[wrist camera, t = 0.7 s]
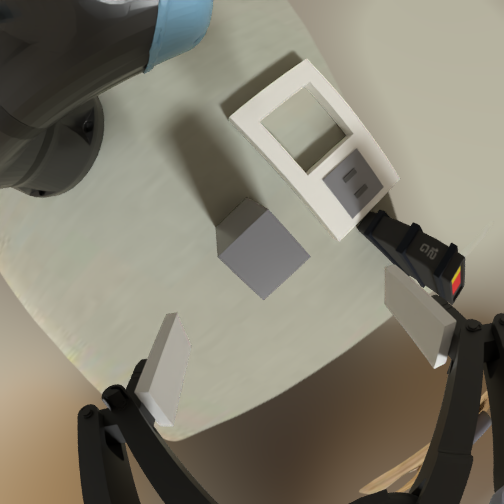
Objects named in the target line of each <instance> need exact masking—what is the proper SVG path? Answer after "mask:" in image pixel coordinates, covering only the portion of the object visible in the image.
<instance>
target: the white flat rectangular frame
mask: <svg viewBox="0 0 504 504" xmlns="http://www.w3.org/2000/svg"><path fill="white" fill-rule="evenodd" d="M303 87H305V88H306V89H307V90H308V91H309V92H310V93H311V94H312V95H313V97H314V98H315V99H316V100H317V101H318V102H319V103H320V104H321V106H322V107H323V108H324V109H325V110H326V111H327V113H328V114H329V115H330V116H331V117H332V119H333V120H334V121H335V122H336V123H337V125H338V126H339V127H340V128H341V130H342V131H343V132H344V133H345V135H346V136H345V137H344V138H343V139H342V140H341V141H340V142H339V143H338V144H336V145H335V146H334V147H333V148H332V149H331V150H330V151H329V152H328V153H326V154H325V155H324V156H323V157H322V158H321V159H320V160H319V161H318V162H317V163H315V164H314V165H313V166H312V167H311V168H310V169H309V170H308V171H307V172H306V173H305V172H304V171H303V169H302V168H301V167H300V166H299V165H298V164H297V163H296V161H295V160H294V159H293V158H292V157H291V156H290V155H289V153H288V152H287V151H286V150H285V149H284V148H283V147H282V146H281V144H280V143H279V142H278V141H277V140H276V139H275V138H274V137H273V136H272V135H271V134H270V132H269V131H268V130H267V129H266V128H265V127H264V126H263V125H262V124H261V123H260V121H261V120H263V119H264V118H265V117H266V116H267V115H269V114H270V113H271V112H272V111H274V110H275V109H276V108H277V107H279V106H280V105H281V104H282V103H284V102H285V101H286V100H287V99H289V98H290V97H291V96H293V95H294V94H295V93H296V92H298V91H299V90H300V89H302V88H303ZM228 121H229V122H230V123H231V124H232V125H233V126H234V127H235V128H236V129H237V130H238V131H239V132H240V133H241V134H242V135H243V136H244V137H245V138H246V139H247V140H248V141H249V142H250V143H251V144H252V146H253V147H254V148H255V149H256V150H257V151H258V152H259V153H260V154H261V155H262V156H263V157H264V158H265V159H266V161H267V162H268V163H269V164H270V165H271V166H272V167H273V168H274V169H275V170H276V172H277V173H278V174H279V175H280V176H281V177H282V178H283V179H284V180H285V182H286V183H287V184H288V185H289V186H290V187H291V188H292V190H293V191H294V192H295V193H296V194H297V195H298V197H299V198H300V199H301V200H302V201H303V202H304V204H305V205H306V206H307V207H308V208H309V209H310V211H311V212H312V213H313V214H314V215H315V217H316V218H317V219H318V220H319V222H320V223H321V224H322V225H323V226H324V228H325V229H326V230H327V231H328V233H329V234H330V235H331V236H332V238H334V239H336V240H338V241H340V240H341V239H342V238H343V237H344V236H345V235H346V234H347V233H348V232H349V231H350V230H351V229H352V228H353V227H354V226H355V225H356V224H357V223H358V222H359V221H360V220H361V219H362V218H363V217H364V216H365V215H366V214H367V213H368V212H369V211H370V210H371V209H372V208H373V207H374V206H375V205H376V204H377V203H378V202H379V201H380V200H381V199H382V198H383V197H384V196H385V194H386V193H387V192H388V191H389V190H390V189H391V188H392V187H393V186H394V185H395V184H396V183H397V182H398V181H399V179H400V178H399V176H398V174H397V173H396V171H395V170H394V168H393V166H392V165H391V163H390V162H389V160H388V159H387V157H386V156H385V154H384V153H383V151H382V150H381V148H380V147H379V145H378V144H377V142H376V141H375V140H374V138H373V137H372V135H371V134H370V133H369V131H368V130H367V128H366V127H365V126H364V124H363V123H362V122H361V121H360V119H359V118H358V117H357V116H356V114H355V113H354V112H353V110H352V109H351V108H350V106H349V105H348V104H347V103H346V102H345V100H344V99H343V98H342V97H341V96H340V94H339V93H338V92H337V91H336V90H335V89H334V87H333V86H332V85H331V84H330V83H329V82H328V81H327V80H326V78H325V77H324V76H323V75H322V74H321V73H320V72H319V71H318V70H317V69H316V68H315V67H314V66H313V65H312V63H311V62H310V61H309V60H308V59H305V60H304V61H302V62H301V63H299V64H298V65H296V66H295V67H293V68H292V69H291V70H289V71H288V72H286V73H285V74H283V75H282V76H281V77H279V78H278V79H277V80H275V81H274V82H273V83H271V84H270V85H269V86H267V87H266V88H265V89H263V90H262V91H261V92H259V93H258V94H257V95H255V96H254V97H253V98H252V99H250V100H249V101H248V102H247V103H245V104H244V105H243V106H242V107H241V108H239V109H238V110H237V111H236V112H234V113H233V114H232V115H231V116H230V117H229V120H228Z"/></svg>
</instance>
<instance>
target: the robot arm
mask: <svg viewBox="0 0 504 504" xmlns="http://www.w3.org/2000/svg"><path fill="white" fill-rule="evenodd" d="M212 8H213V0H0V189H1V188H7V187H12V188H14V189H16V190H19V191H21V192H23V193H25V194H28V195H30V196H33V197H40V198H42V197H50V196H56V195H60V194H62V193H65V192H67V191H69V190H70V189H72V188H73V187H74V186H76V185H77V184H78V183H79V182H80V181H81V180H82V179H83V178H84V177H85V175H86V174H87V173H88V171H89V170H90V168H91V167H92V165H93V163H94V161H95V159H96V157H97V155H98V152H99V150H100V147H101V143H102V139H103V133H104V115H103V109H102V106H101V103H100V101H99V99H98V97H97V96H98V95H99V94H101V93H103V92H105V91H106V90H108V89H110V88H112V87H114V86H116V85H118V84H120V83H121V82H123V81H125V80H127V79H129V78H131V77H133V76H136V75H138V74H140V73H142V72H143V73H144V74H145V73H147V72H149V71H150V70H152V69H153V67H154V66H155V65H157V64H160V63H162V62H164V61H166V60H168V59H170V58H173V57H175V56H177V55H180V54H182V53H184V52H187V51H189V50H191V49H192V48H194V47H195V46H196V45H198V44H199V42H200V41H201V40H202V38H203V37H204V36H205V34H206V31H207V28H208V26H209V24H210V20H211V15H212ZM385 305H386V306H387V308H388V309H389V310H390V311H391V313H392V314H393V315H394V316H395V318H396V319H397V320H398V321H399V323H400V324H401V325H402V327H403V328H404V329H405V330H406V332H407V333H408V334H409V336H410V337H411V338H412V340H413V341H414V342H415V343H416V345H417V346H418V347H419V349H420V350H421V352H422V353H423V354H424V356H425V357H426V358H427V360H428V361H429V363H430V364H431V365H432V367H433V368H437V367H439V366H441V365H443V364H445V363H446V359H447V356H448V355H449V357H450V358H451V359H452V360H451V363H450V366H449V369H448V372H447V374H448V379H447V384H446V389H445V394H444V398H443V402H442V406H441V410H440V414H439V417H438V421H437V424H436V428H435V431H434V434H433V437H432V440H431V443H430V446H429V449H428V452H427V454H426V457H425V460H424V462H423V465H422V467H421V470H420V472H419V474H418V477H417V479H416V480H415V482H414V484H413V485H412V487H411V489H410V491H409V493H402V492H393V493H387V490H386V489H385V490H382V491H379V492H377V493H374V494H371V495H368V496H364V497H361V498H359V499H357V500H355V501H353V502H351V503H349V504H459V503H460V500H461V498H462V495H463V492H464V489H465V486H466V483H467V480H468V477H469V474H470V470H471V467H472V462H473V456H472V455H471V449H472V445H473V441H474V436H475V431H476V426H477V420H478V414H479V407H480V400H481V390H482V378H483V370H484V375H485V380H486V385H487V391H488V397H489V404H490V412H491V421H492V433H493V451H494V452H493V455H494V469H493V470H494V471H493V475H494V491H495V494H494V495H493V496H492V498H491V501H490V503H489V504H504V314H502V313H500V314H497V315H496V316H495V317H494V320H493V323H490V324H485V325H482V324H481V323H480V322H479V321H477V320H473V319H468V320H466V319H465V318H464V317H463V316H462V315H461V314H460V313H459V312H458V311H457V310H456V309H455V308H453V307H452V306H451V305H450V304H448V302H447V301H446V300H445V299H444V298H442V297H440V296H438V295H433V296H430V295H429V294H428V293H427V292H426V291H425V290H424V289H422V288H421V287H420V286H419V285H418V284H417V283H416V282H415V281H414V280H412V279H411V278H410V277H409V276H408V275H407V274H406V273H404V272H403V271H402V270H401V269H400V268H399V267H398V266H396V265H395V264H394V265H391V266H387V267H385ZM191 347H192V345H191V343H190V341H189V339H188V336H187V334H186V332H185V329H184V327H183V325H182V322H181V320H180V317H179V315H178V313H171V314H166V316H165V319H164V321H163V323H162V325H161V328H160V330H159V332H158V335H157V337H156V339H155V342H154V344H153V347H152V349H151V351H150V354H149V356H148V359H142V360H141V361H140V362H139V363H138V364H137V365H136V367H135V369H134V371H133V374H132V376H131V379H130V381H129V383H128V385H127V388H126V390H125V388H124V387H123V386H122V385H118V384H117V385H112V386H110V387H108V388H107V389H106V390H105V391H104V392H103V394H102V401H103V402H104V403H105V405H106V406H107V407H108V408H106V409H102V410H99V409H98V408H97V407H96V406H95V405H92V404H90V405H86V406H84V407H83V408H82V409H81V410H80V411H79V413H78V454H79V468H80V478H81V486H82V494H83V501H84V504H141V503H140V501H139V497H138V494H137V491H136V487H135V484H134V480H133V476H132V472H131V468H130V464H129V460H128V456H127V451H126V446H125V442H126V443H127V444H128V446H129V448H130V450H131V452H132V453H133V455H134V457H135V459H136V460H137V462H138V463H139V465H140V467H141V469H142V470H143V472H144V473H145V475H146V477H147V478H148V480H149V481H150V483H151V484H152V486H153V487H154V489H155V490H156V491H157V493H158V494H159V496H160V497H161V499H162V500H163V501H164V503H165V504H218V503H217V502H216V501H215V500H214V499H213V498H212V497H211V496H210V495H209V494H208V492H207V491H206V490H205V489H204V488H203V487H202V486H201V485H200V484H199V483H198V482H197V480H196V479H195V478H194V477H193V476H192V475H191V474H190V472H189V471H188V470H187V469H186V468H185V467H184V465H183V464H182V463H181V462H180V460H179V459H178V458H177V457H176V455H175V454H174V453H173V452H172V450H171V449H170V448H169V447H168V445H167V444H166V442H165V441H164V440H163V438H162V437H161V435H160V434H159V433H158V431H157V430H156V428H155V427H154V422H155V421H156V422H157V423H158V424H159V425H160V426H174V422H175V417H176V412H177V408H178V403H179V399H180V394H181V390H182V385H183V381H184V377H185V372H186V368H187V364H188V360H189V355H190V351H191Z"/></svg>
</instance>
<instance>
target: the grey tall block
mask: <svg viewBox="0 0 504 504" xmlns="http://www.w3.org/2000/svg"><path fill="white" fill-rule="evenodd" d="M216 240H217V253H218V258H219V259H220V260H221V261H222V262H223V263H224V264H226V265H227V266H228V267H229V268H230V269H231V270H232V271H233V272H234V273H235V274H236V275H237V276H238V277H239V278H240V279H241V280H242V281H243V282H244V283H246V284H247V285H248V286H249V287H250V288H251V289H252V290H253V291H254V292H255V293H256V294H257V295H258V296H259V297H260V298H262V299H263V300H264V299H266V298H267V297H268V296H269V295H270V294H271V293H272V292H273V291H274V290H275V289H277V288H278V287H279V286H280V285H281V284H282V283H283V282H284V281H285V280H286V279H287V278H289V277H290V276H291V275H292V274H293V273H294V272H295V271H296V270H297V269H298V268H299V267H300V266H301V265H302V264H303V263H305V262H306V261H307V260H308V259H309V258H310V257H311V256H310V255H309V254H308V253H307V252H306V251H305V249H304V248H303V247H302V246H301V245H300V244H299V243H298V242H297V240H296V239H295V238H294V237H293V236H292V235H291V234H290V233H289V231H288V230H287V229H286V228H285V227H284V226H283V225H282V224H281V223H280V222H279V220H278V219H277V218H276V217H275V216H274V215H273V214H272V213H271V212H270V211H269V209H267V208H265V207H264V206H262V205H260V204H258V203H257V202H255V201H253V200H251V199H249V198H248V197H247V198H246V199H245V200H244V201H243V202H242V203H241V204H240V205H239V206H237V207H236V208H235V209H234V210H233V211H232V212H231V213H230V214H229V215H228V216H227V217H226V218H225V219H224V220H223V221H222V222H221V223H220V224H219V225H218V226H217V227H216Z"/></svg>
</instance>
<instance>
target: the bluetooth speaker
mask: <svg viewBox="0 0 504 504" xmlns="http://www.w3.org/2000/svg"><path fill="white" fill-rule="evenodd" d="M491 424H492V421H491V418H490V416H489V415H488V414H487V413H486V412H485V411H482V412H481V413H480V414H479V415H478V420H477V426H476V431H475V436H474V441H473V444H474V443H475V442H476V441H477V440H478V439H479V438H480V437H481V436H482V434H483V433H484V432H485V431H486V430H487V429H488V428H489V427H490V425H491Z"/></svg>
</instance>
